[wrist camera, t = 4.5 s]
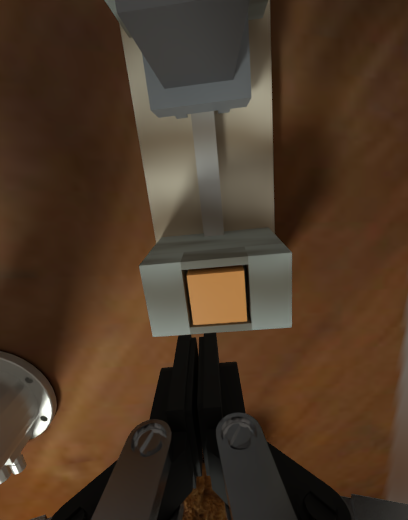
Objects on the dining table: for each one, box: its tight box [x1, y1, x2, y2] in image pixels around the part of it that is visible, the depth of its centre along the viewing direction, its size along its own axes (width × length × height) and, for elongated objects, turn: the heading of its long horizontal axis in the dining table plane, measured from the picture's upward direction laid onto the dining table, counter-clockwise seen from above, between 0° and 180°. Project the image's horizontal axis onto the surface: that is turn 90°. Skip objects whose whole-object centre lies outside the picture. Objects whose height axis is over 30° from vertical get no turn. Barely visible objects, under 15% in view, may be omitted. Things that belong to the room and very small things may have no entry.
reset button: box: [187, 265, 247, 325], centre depth 17 cm, size 3×3×2 cm
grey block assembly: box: [105, 0, 292, 337], centre depth 18 cm, size 23×10×8 cm, turn 6°
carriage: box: [115, 0, 251, 119], centre depth 13 cm, size 5×6×12 cm
